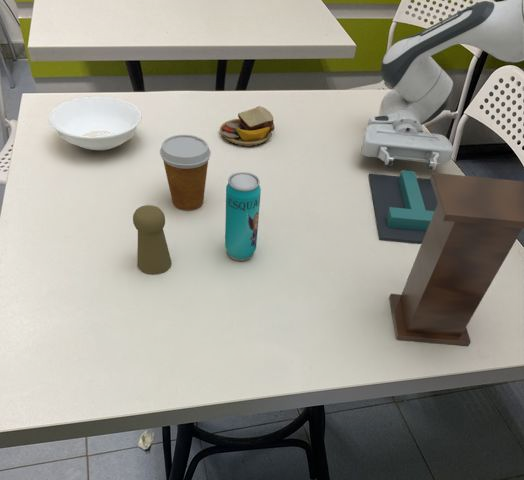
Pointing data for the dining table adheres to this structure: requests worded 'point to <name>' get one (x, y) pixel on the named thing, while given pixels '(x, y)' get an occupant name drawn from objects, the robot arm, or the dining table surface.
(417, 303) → the stand
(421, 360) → the dining table surface
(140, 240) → the olive pawn
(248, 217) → the beverage can
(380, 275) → the dining table surface
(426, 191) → the mat
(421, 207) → the letter T
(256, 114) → the toy sandwich meal
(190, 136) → the disposable coffee cup
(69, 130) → the bowl
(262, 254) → the dining table surface
